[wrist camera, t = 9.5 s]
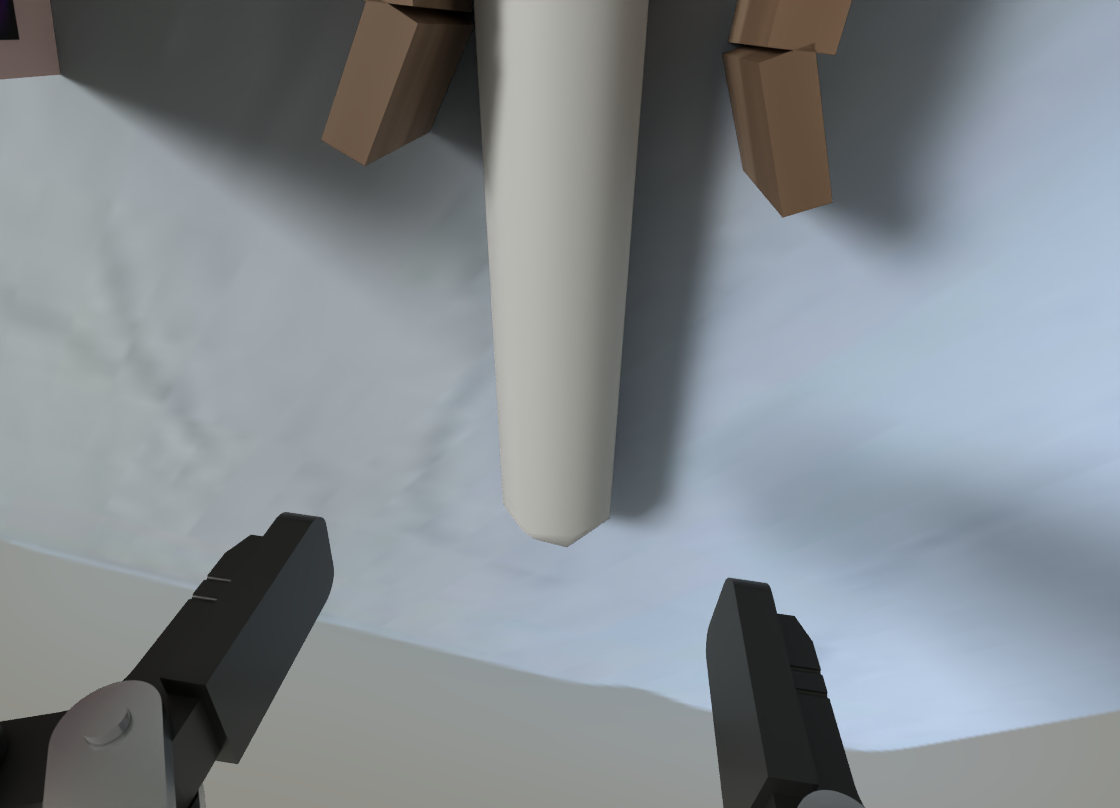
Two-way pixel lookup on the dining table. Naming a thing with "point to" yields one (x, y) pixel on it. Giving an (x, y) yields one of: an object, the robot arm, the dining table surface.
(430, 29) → the socket block
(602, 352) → the tube
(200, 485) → the dining table surface
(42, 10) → the greeting card
